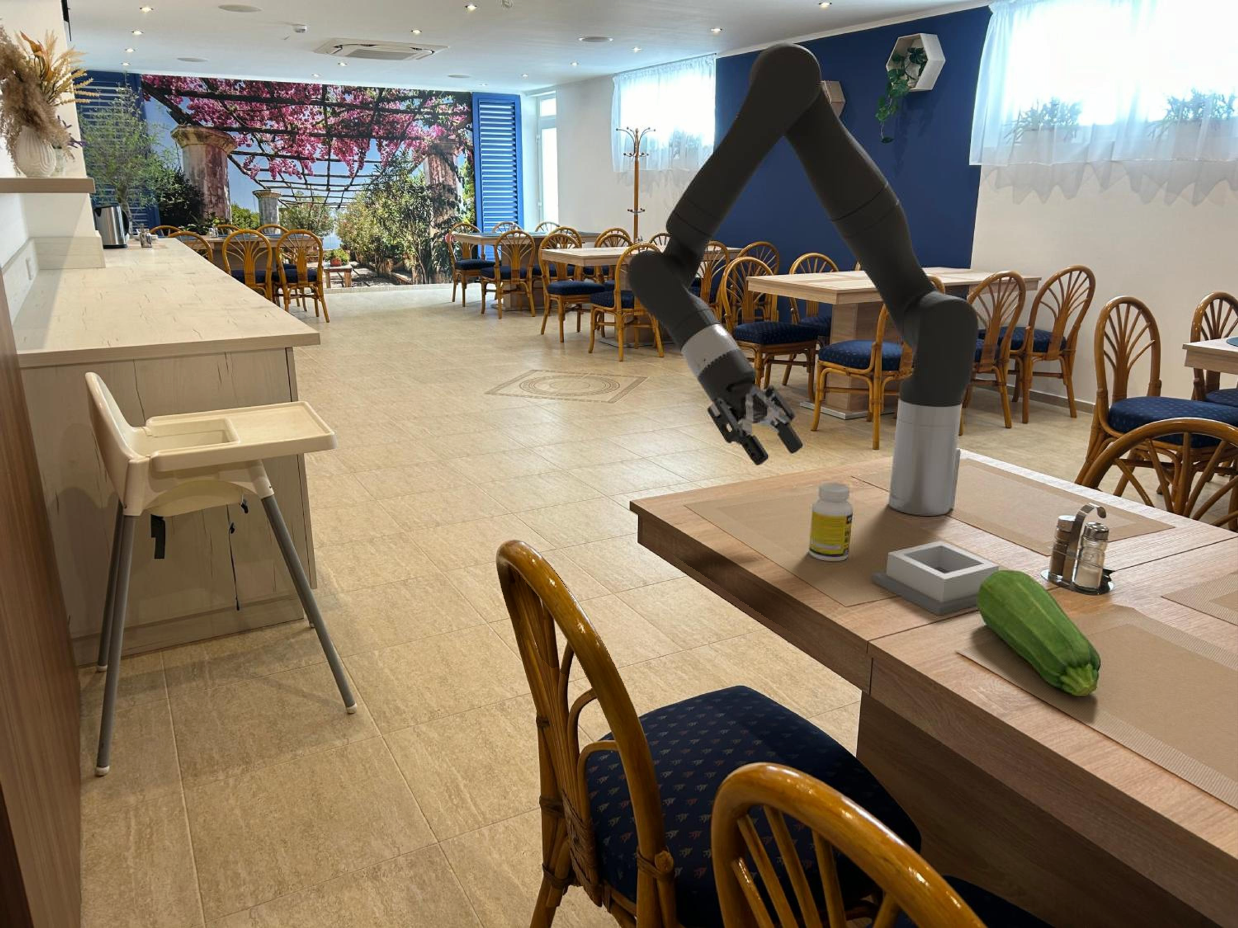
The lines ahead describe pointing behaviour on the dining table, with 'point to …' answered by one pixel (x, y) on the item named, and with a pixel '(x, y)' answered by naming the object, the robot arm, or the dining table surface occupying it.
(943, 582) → the board
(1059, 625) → the vegetable
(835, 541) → the supplement bottle
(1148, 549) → the dining table surface
